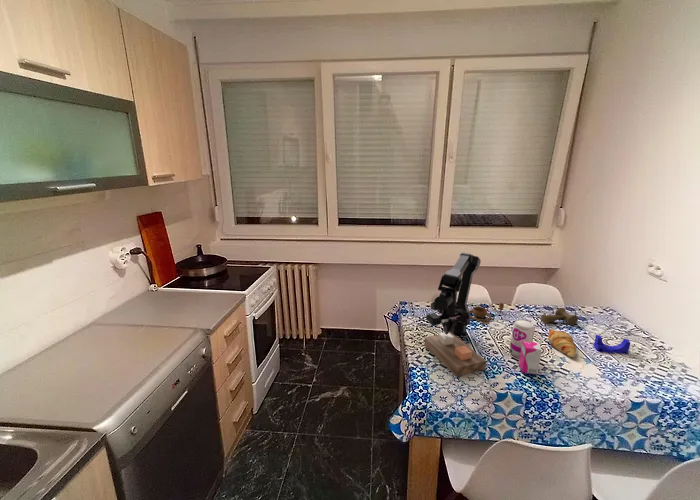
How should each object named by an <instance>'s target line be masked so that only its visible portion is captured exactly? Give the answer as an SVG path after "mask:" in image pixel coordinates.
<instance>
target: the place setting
mask: <svg viewBox="0 0 700 500" xmlns="http://www.w3.org/2000/svg"><path fill="white" fill-rule="evenodd" d="M504 307H505V303H503V302H500V303H499V304H498V308H499V314H502V310H503V309H504ZM470 314H473V315H474V316H475V317H474V316H472V315H470ZM469 315H470V318H471V319H472V320H474V321H477V323H478V324H481V322H482V324H483V325H484V324H485V325H489V324H490V322H489V321H490V320H491V319H492V315H491V314H490V313H489V312H488V309H487V308H485V307H483V306H482V307H481V306H474V307H473V308H472V309H471V310H469ZM485 317H488V318H485ZM484 318H485V319H484Z"/></svg>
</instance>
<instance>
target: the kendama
mask: <svg viewBox="0 0 700 500" xmlns="http://www.w3.org/2000/svg"><path fill="white" fill-rule="evenodd" d="M562 319H564V320H565V321H566V323H567V325H569V326H574V325H576V324H577V323H578V320H579V318H578V315H577V314H568V312H567V311H566V308H564V307H560V308H557V309H556V311H555V313H554V315H553V314H551V313H549V314H544V313H542V314H541V316H540V320H541V322H542V323H543V324H545V325H547V324H549V323H555V322H556V321H558V320H562Z"/></svg>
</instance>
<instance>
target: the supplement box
mask: <svg viewBox="0 0 700 500" xmlns="http://www.w3.org/2000/svg"><path fill="white" fill-rule="evenodd" d="M541 356H542V348H541V346H540V345H539V343H538V342H525V341H522V347H521V354H520V358H519V362H518V366H519V368H520V371H521V373H522V375H523V374H526V375H532V376H538V374H539V369H540V363H541Z"/></svg>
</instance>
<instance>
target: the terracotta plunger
mask: <svg viewBox="0 0 700 500" xmlns="http://www.w3.org/2000/svg"><path fill="white" fill-rule="evenodd" d="M454 355H455V356H457V357H458V358H459V359H460V360H461V361H463V360H467V359H471V357H472V351H471V350H470V349H468V348H467V347H466V346H460V347H455V352H454Z"/></svg>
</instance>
